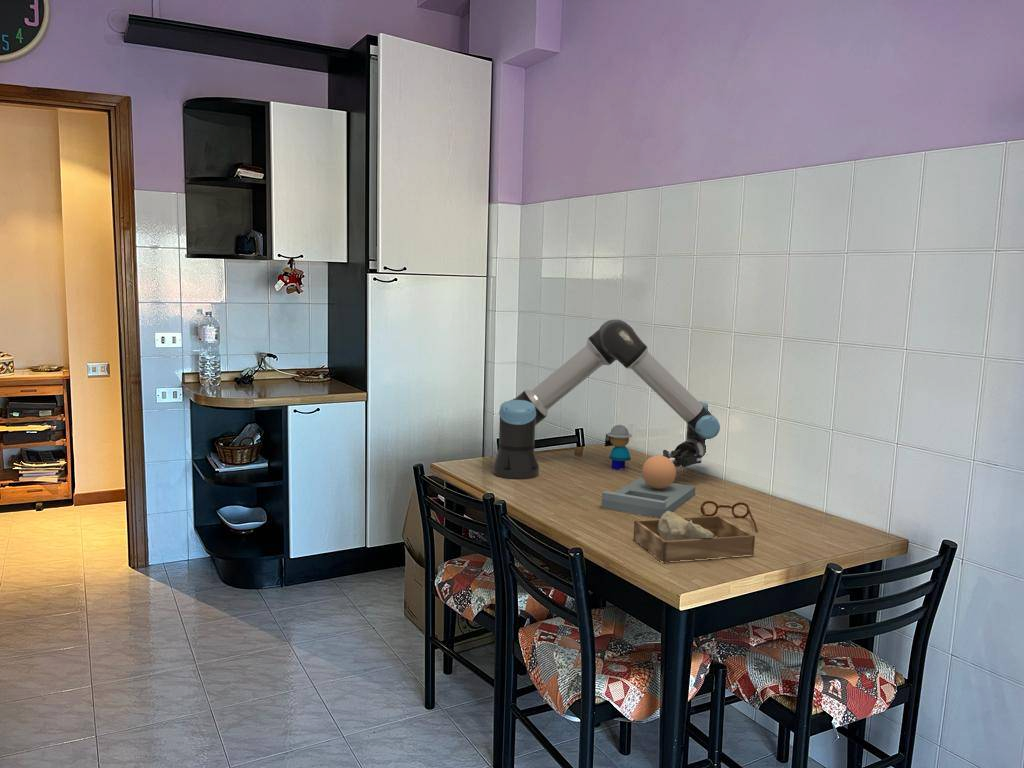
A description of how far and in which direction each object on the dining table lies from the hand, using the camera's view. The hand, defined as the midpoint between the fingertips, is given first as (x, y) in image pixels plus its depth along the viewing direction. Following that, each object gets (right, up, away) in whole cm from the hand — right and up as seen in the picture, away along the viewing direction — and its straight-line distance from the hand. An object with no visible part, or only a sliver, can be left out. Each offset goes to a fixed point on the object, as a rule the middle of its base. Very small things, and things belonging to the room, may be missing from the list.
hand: (666, 466), depth 241 cm
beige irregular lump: (-3, -16, -49) cm, 52 cm away
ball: (-3, -1, -4) cm, 5 cm away
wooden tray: (-3, -15, -49) cm, 51 cm away
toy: (-10, -4, +32) cm, 34 cm away
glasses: (+11, -13, -28) cm, 33 cm away
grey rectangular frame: (-6, -9, -8) cm, 14 cm away
